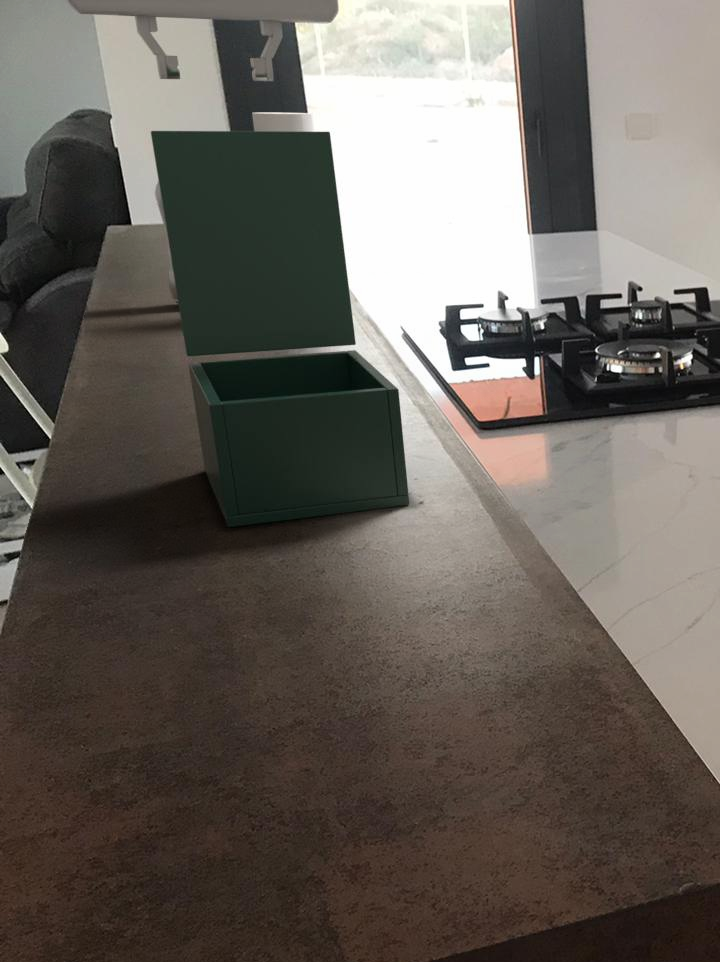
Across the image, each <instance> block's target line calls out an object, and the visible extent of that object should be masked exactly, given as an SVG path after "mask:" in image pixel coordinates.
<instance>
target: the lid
mask: <svg viewBox="0 0 720 962" xmlns="http://www.w3.org/2000/svg"><path fill="white" fill-rule="evenodd" d="M150 139H151V144H152V149H153V155H154V163H155V168H156V175H157V182H158V181H159V187H160V193H161V199H162V206H163V212H164V218H165V224H166V230H167V236H168V243H169V249H170V255H171V261H172V267H173V273H174V279H175V286H176V292H177V298H178V310H179V316H180V322H181V328H182V333H183V341H184V347H185V353H186V356H187V357H199V356H214V355H226V354H227V355H228V354H243V353H257V352H271V351H286V350H302V349H316V348H329V347H345V346H356V342H357V341H356V335H355V326H354V318H353V312H352V311H353V310H352V302H351V294H350V284H349V277H348V269H347V260H346V252H345V245H344V237H343V227H342V219H341V213H340V211H341V210H340V203H339V194H338V187H337V179H336V172H335V163H334V155H333V147H332V138H331V132H330V131H314V132H291V131H254V130H151V131H150ZM167 236H166V237H167Z"/></svg>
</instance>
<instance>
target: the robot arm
mask: <svg viewBox="0 0 720 962" xmlns="http://www.w3.org/2000/svg"><path fill="white" fill-rule="evenodd" d="M66 3H67V4H68V5H69V6H70V7H71V8H72V9H73V10H74V11H75V12H77V13H78V14H80V15H95V16H96V15H97V16H98V15H99V16H101V15H102V16H120V17H122V16H123V17H134V20H135V26H136V32H137V34H138V36H140V38H141V39H142V41H143V42H144V43H145V45H146V46H147V47H148V49H149V50H150V51H151V53H152V54H153V56H155V59H156V65H157V66H156V67H157V71H158V76H159V77H158V78H159V79H160V80H181V73H180V72H181V71H180V69H178V66H179V58H178V55H167V54H166V52H165V50H163V48H162V47H161V46H160V44H159V42H158V41H157V40H156V38H155V37H154V36H153V34H152V33H156V32H158V23H157V18H171V19H172V18H173V19H195V20H221V21H223V20H224V21H243V22H244V21H245V22H259V26H260V33H261V36H262V37H268V38H267V41H266V44H265V46H264V48H263V50H262V52H261V55H260V57H250V58H249V60H250V67H251V68H252V71H251V75H252V80H253V82H274V77H275V76H274V67H273V61H272V59H273V58H274V57H275V55H276V53H277V51H278V48H279V46H280V45H281V41H282V39H283V38H284V35H283V25H282V23H298V24H319V25H321V24H322V25H327V24H331V23H333V21H334V20H335V19H336V17H337V15H338V14H339V10H340V9H339V7H340V6H339V0H66Z"/></svg>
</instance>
